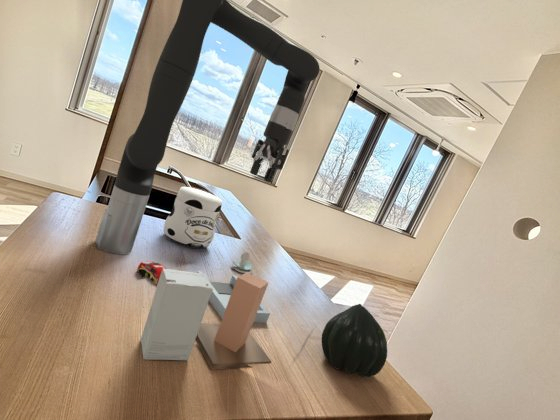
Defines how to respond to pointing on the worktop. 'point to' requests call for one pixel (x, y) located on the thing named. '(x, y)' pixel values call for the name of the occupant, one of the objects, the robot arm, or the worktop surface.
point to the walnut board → (228, 350)
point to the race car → (150, 270)
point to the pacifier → (242, 267)
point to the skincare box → (175, 315)
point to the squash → (355, 342)
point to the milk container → (193, 218)
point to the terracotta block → (241, 311)
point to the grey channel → (222, 297)
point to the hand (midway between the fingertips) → (259, 177)
